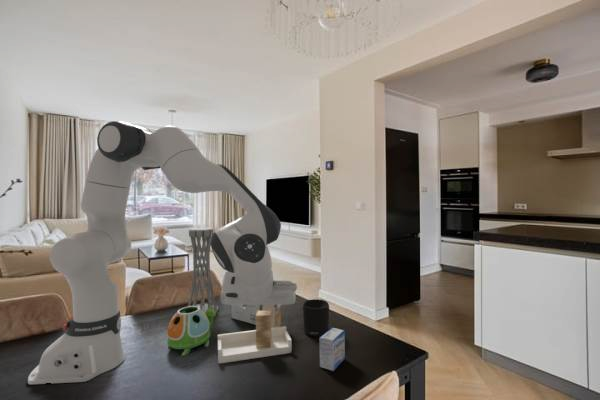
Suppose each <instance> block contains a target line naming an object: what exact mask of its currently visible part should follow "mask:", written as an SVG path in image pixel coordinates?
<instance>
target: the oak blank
mask: <svg viewBox="0 0 600 400" xmlns="http://www.w3.org/2000/svg"><path fill="white" fill-rule="evenodd" d="M255 330H256V348H271V342H272V329H271V310H270V311H257V314H256V325H255Z"/></svg>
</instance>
